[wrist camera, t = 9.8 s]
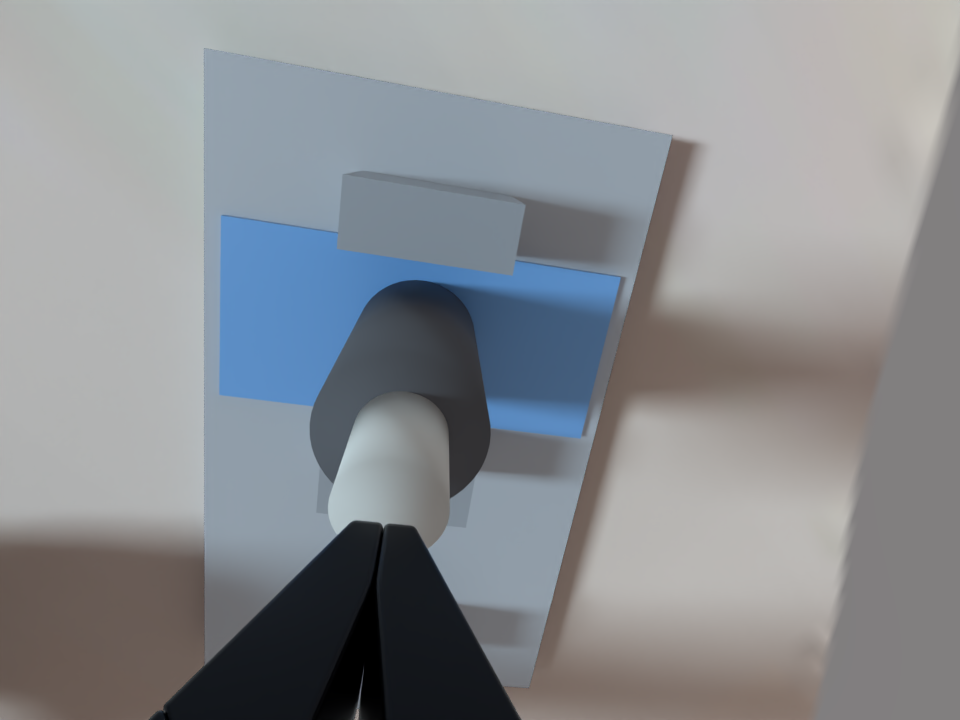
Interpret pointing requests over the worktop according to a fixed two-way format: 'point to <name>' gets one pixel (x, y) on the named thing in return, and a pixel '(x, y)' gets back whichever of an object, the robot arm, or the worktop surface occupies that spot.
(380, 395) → the knob
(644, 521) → the worktop surface
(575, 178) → the lever switch plate
